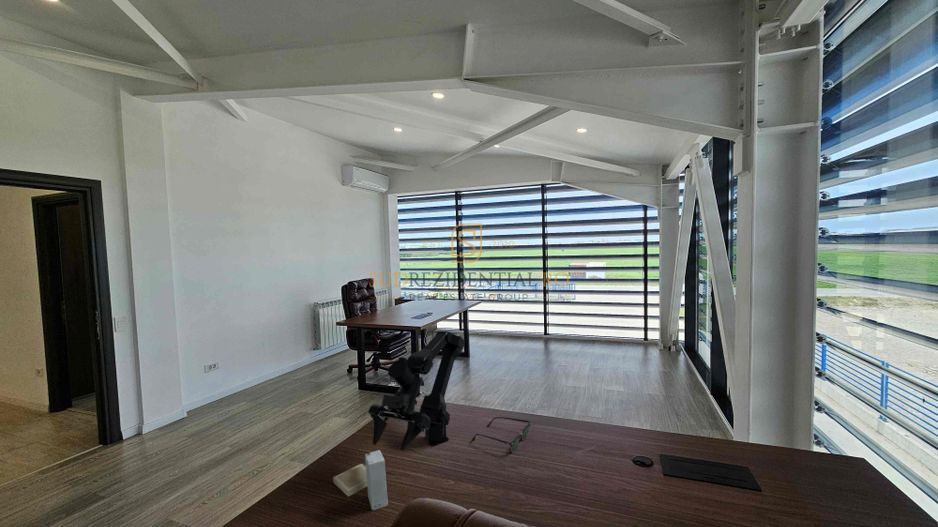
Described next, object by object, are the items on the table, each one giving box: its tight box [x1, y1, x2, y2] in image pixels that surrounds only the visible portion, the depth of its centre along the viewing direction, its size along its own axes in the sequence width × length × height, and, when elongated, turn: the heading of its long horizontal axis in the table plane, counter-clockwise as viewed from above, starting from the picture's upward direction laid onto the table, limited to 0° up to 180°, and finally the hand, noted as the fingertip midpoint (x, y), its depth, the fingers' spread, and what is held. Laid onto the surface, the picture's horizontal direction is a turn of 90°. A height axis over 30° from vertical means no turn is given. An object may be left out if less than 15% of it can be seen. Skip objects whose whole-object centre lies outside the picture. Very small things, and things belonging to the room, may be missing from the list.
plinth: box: [332, 463, 368, 497], centre depth 103 cm, size 9×9×2 cm
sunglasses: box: [472, 416, 532, 453], centre depth 124 cm, size 16×17×5 cm
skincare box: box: [364, 449, 389, 511], centre depth 95 cm, size 6×4×12 cm
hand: (387, 447), depth 99 cm, fingers open, 9 cm apart
